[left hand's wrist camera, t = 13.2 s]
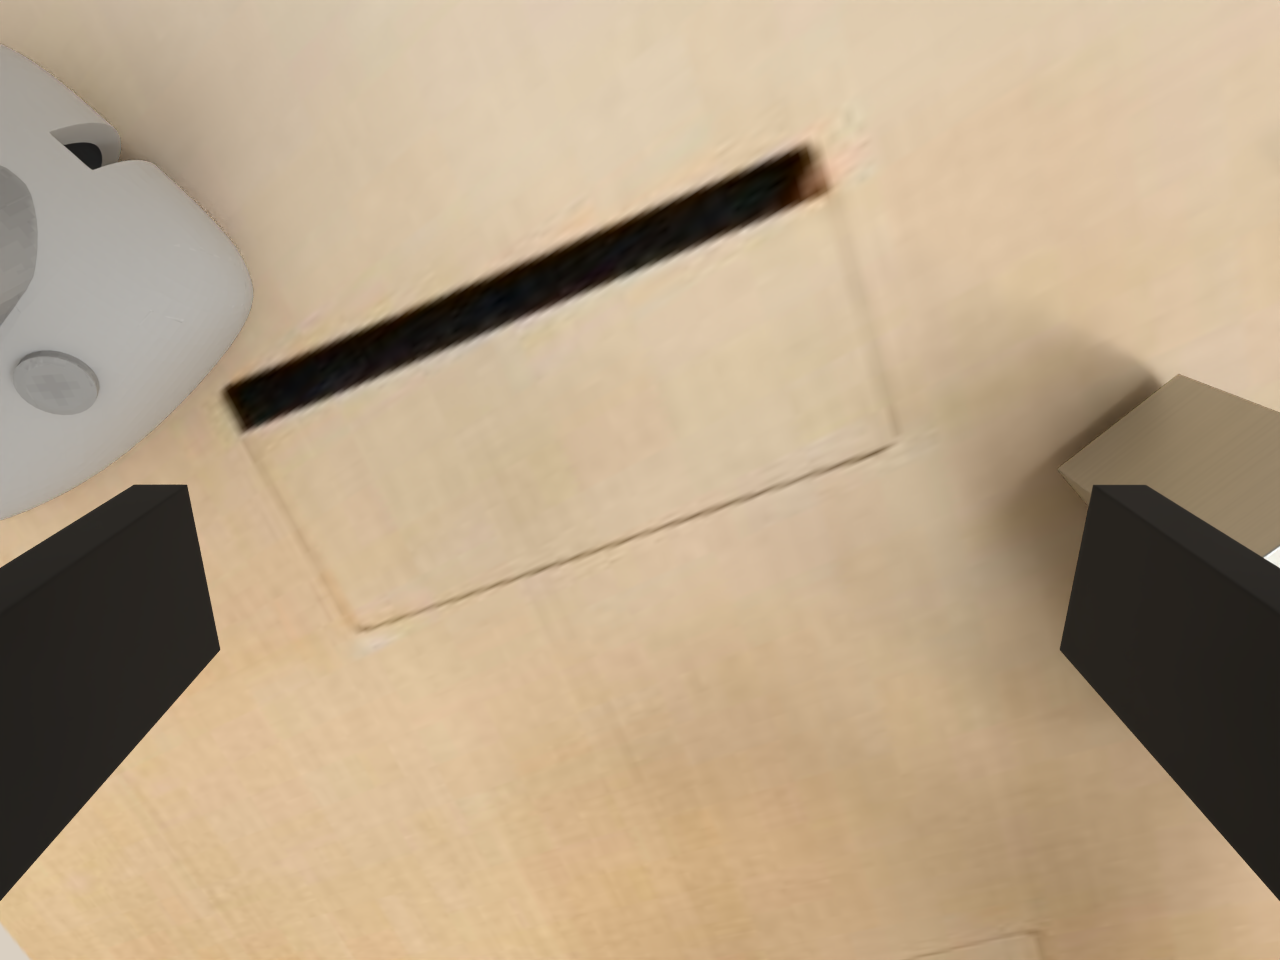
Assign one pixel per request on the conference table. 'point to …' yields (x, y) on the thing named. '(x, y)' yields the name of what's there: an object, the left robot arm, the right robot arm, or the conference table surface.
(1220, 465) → the box
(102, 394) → the projector
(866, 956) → the conference table surface
